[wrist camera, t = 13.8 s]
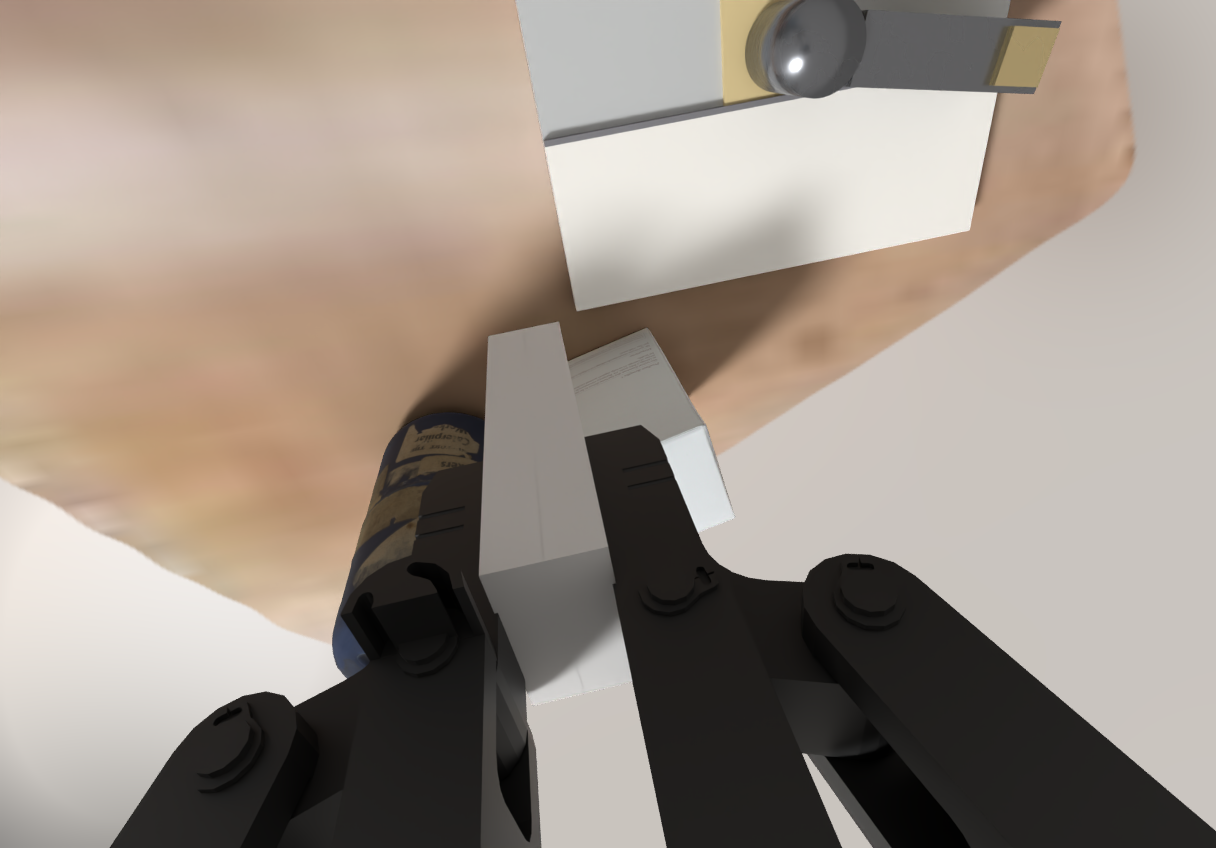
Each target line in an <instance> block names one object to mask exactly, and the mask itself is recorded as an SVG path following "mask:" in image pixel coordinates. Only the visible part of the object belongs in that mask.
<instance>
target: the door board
mask: <svg viewBox="0 0 1216 848" xmlns="http://www.w3.org/2000/svg"><path fill="white" fill-rule="evenodd" d="M779 1H783V0H515V2H516V7H517V12H518V17H519V22H520V27H521V32H522V38H523V43H524V48H525V53H526V58H527V63H528V68H529V73H530V78H531V84H532V89H533V94H534V99H535V104H536V109H537V114H538V119H539V125H540V130H541V135H542V140H543V145H544V150H545V155H546V160H547V166H548V171H549V176H550V181H551V186H552V191H553V196H554V201H555V207H556V212H557V217H558V222H559V227H560V232H561V237H562V242H563V247H564V253H565V258H566V263H567V268H568V273H569V278H570V283H571V288H572V294H573V299H574V303H575V307H576V310H577V311H581V310H586V309H591V308H596V307H601V306H606V305H610V304H615V303H620V302H625V301H630V300H635V299H639V298H644V297H649V296H654V295H659V294H664V293H669V292H673V291H678V290H683V289H688V288H693V287H698V286H703V285H707V284H712V283H717V282H722V281H727V280H732V279H736V278H741V277H746V276H751V275H756V274H761V273H766V272H770V271H775V270H780V269H785V268H790V267H795V266H799V265H804V264H809V263H814V262H819V261H824V260H829V259H833V258H838V257H843V256H848V255H853V254H858V253H863V252H867V251H872V250H877V249H882V248H887V247H892V246H896V245H901V244H906V243H911V242H916V241H921V240H926V239H930V238H935V237H940V236H945V235H950V234H955V233H960V232H964V231H969V230H970V225H971V220H972V215H973V210H974V205H975V200H976V195H977V191H978V186H979V181H980V176H981V171H982V166H983V161H984V156H985V151H986V146H987V141H988V136H989V131H990V126H991V121H992V116H993V111H994V107H995V102H996V97H997V93H993V92H966V91H939V90H912V89H885V88H858V87H844V86H843V87H842V88H841V89H840V90H838V91H837V92H835V93H833V94H831V95H829V96H827V97H823V98H817V99H812V98H805V97H798V96H792V95H786V94H779V93H773V92H768V91H765V90H763V89H761V88H760V87H758V86H757V85H756V84H755V83H754V82H753V80H752V79H751V77H750V75H749V73H748V70H747V67H746V62H745V46H746V40H747V37H748V34H749V31H750V29H751V27H752V25H753V23H754V22H755V20H756V19H757V17H758V16H759V15H760V14H761V13H762V12H763V11H764V10H765V9H766V8H767V7H769V6H770V5H772V4H774V3H776V2H779ZM854 1H855V2H856V4H857V5H858V6H859V8H860V9H861V10H880V11H897V12H914V13H930V14H947V15H964V16H981V17H998V18H1007V16H1008V11H1009V6H1010V1H1011V0H854Z"/></svg>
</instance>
